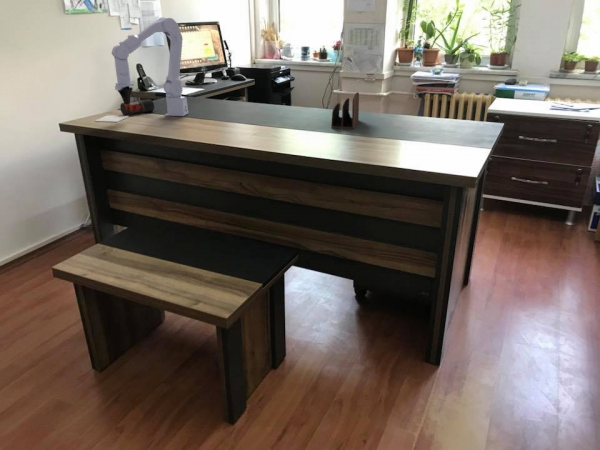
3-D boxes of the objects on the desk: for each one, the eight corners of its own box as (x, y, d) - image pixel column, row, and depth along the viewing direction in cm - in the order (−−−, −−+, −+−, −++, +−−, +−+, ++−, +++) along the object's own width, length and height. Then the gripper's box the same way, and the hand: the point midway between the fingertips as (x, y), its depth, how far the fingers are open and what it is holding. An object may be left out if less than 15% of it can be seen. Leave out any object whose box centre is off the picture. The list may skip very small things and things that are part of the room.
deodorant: (124, 117, 243) (151, 113, 253) (127, 111, 238) (155, 107, 248) (119, 106, 243) (146, 103, 253) (122, 100, 239) (150, 97, 249)
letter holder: (358, 120, 235) (360, 90, 229) (353, 130, 217) (355, 97, 212) (337, 119, 237) (338, 89, 231) (330, 128, 219) (331, 96, 214)
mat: (128, 116, 239) (128, 116, 239) (117, 122, 228) (117, 121, 228) (107, 116, 240) (107, 115, 240) (94, 121, 229) (94, 120, 229)
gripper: (121, 71, 231) (125, 100, 237) (106, 75, 218) (111, 106, 224) (136, 71, 231) (140, 101, 236) (122, 75, 217) (126, 107, 223)
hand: (127, 103), depth 230 cm, fingers closed
